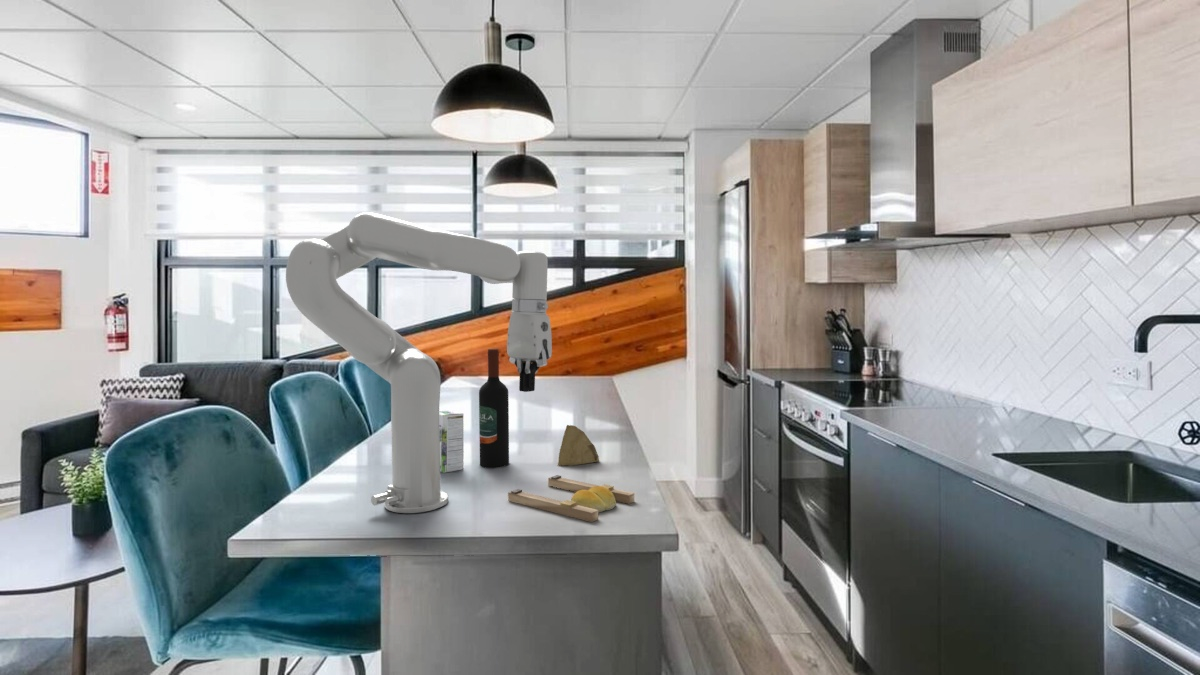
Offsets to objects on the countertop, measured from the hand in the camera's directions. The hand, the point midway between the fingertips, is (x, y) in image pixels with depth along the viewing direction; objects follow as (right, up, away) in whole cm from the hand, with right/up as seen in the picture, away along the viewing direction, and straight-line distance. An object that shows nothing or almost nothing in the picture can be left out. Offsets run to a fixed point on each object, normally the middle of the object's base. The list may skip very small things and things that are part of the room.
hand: (526, 390), depth 133 cm
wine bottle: (-11, -21, +24) cm, 34 cm away
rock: (+11, -21, +25) cm, 34 cm away
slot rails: (+10, -23, -6) cm, 26 cm away
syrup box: (-22, -22, +19) cm, 36 cm away
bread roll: (+15, -23, -10) cm, 29 cm away
